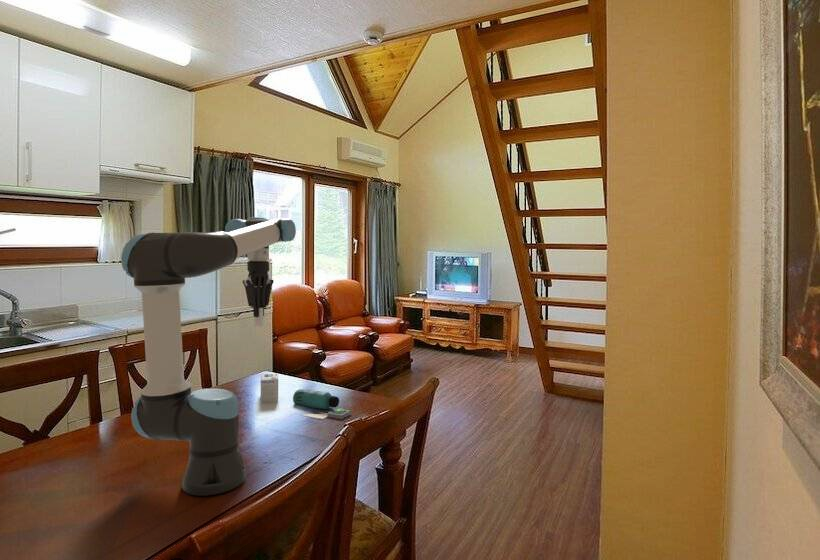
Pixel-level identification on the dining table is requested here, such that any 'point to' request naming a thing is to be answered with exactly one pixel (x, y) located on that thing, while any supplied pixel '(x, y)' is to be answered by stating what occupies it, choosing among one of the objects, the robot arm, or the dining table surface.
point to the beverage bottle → (315, 399)
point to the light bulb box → (269, 388)
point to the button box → (339, 416)
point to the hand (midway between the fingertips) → (258, 325)
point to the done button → (339, 411)
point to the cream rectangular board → (316, 416)
